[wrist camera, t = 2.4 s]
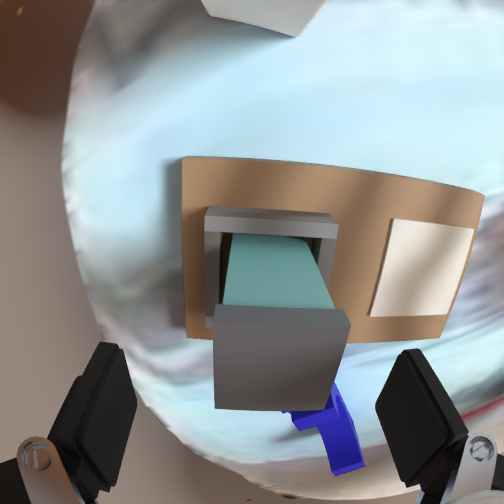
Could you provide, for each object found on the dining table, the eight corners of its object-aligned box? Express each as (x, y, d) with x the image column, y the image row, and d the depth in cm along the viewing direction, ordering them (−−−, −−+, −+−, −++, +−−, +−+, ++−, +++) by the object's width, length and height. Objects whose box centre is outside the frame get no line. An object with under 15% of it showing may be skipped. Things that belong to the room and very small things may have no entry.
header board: (472, 190, 18) (502, 203, 15) (431, 327, 23) (450, 352, 19) (187, 156, 17) (173, 163, 14) (190, 325, 22) (181, 356, 19)
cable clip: (267, 368, 24) (271, 427, 19) (319, 349, 23) (334, 407, 18) (312, 434, 28) (320, 480, 23) (352, 420, 28) (365, 466, 22)
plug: (306, 231, 18) (351, 325, 9) (297, 297, 19) (323, 409, 11) (230, 227, 18) (212, 321, 9) (227, 294, 19) (214, 408, 11)
